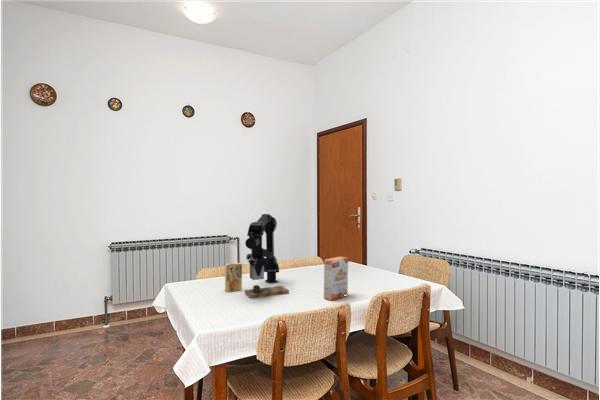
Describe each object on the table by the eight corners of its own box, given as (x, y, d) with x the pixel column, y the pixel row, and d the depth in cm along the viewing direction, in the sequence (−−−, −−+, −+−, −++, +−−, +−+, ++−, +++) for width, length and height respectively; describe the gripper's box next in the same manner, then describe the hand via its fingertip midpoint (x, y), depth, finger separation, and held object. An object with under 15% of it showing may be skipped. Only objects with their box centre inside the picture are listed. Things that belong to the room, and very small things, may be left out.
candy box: (239, 288, 207) (240, 262, 206) (242, 290, 203) (242, 263, 203) (224, 290, 203) (224, 263, 203) (226, 292, 199) (226, 264, 199)
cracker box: (332, 301, 183) (332, 260, 183) (323, 298, 187) (323, 259, 187) (348, 295, 194) (348, 257, 193) (339, 293, 198) (339, 255, 197)
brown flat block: (250, 298, 188) (250, 289, 187) (244, 293, 197) (244, 284, 196) (288, 293, 197) (288, 284, 197) (281, 289, 206) (281, 280, 206)
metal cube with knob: (249, 277, 196) (249, 262, 195) (260, 276, 198) (260, 261, 198) (253, 280, 190) (253, 264, 190) (263, 278, 193) (263, 263, 193)
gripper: (276, 247, 189) (276, 276, 189) (264, 243, 206) (264, 270, 206) (256, 248, 184) (256, 279, 184) (246, 244, 201) (246, 271, 201)
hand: (256, 274), depth 194 cm, fingers closed on metal cube with knob, 6 cm apart
